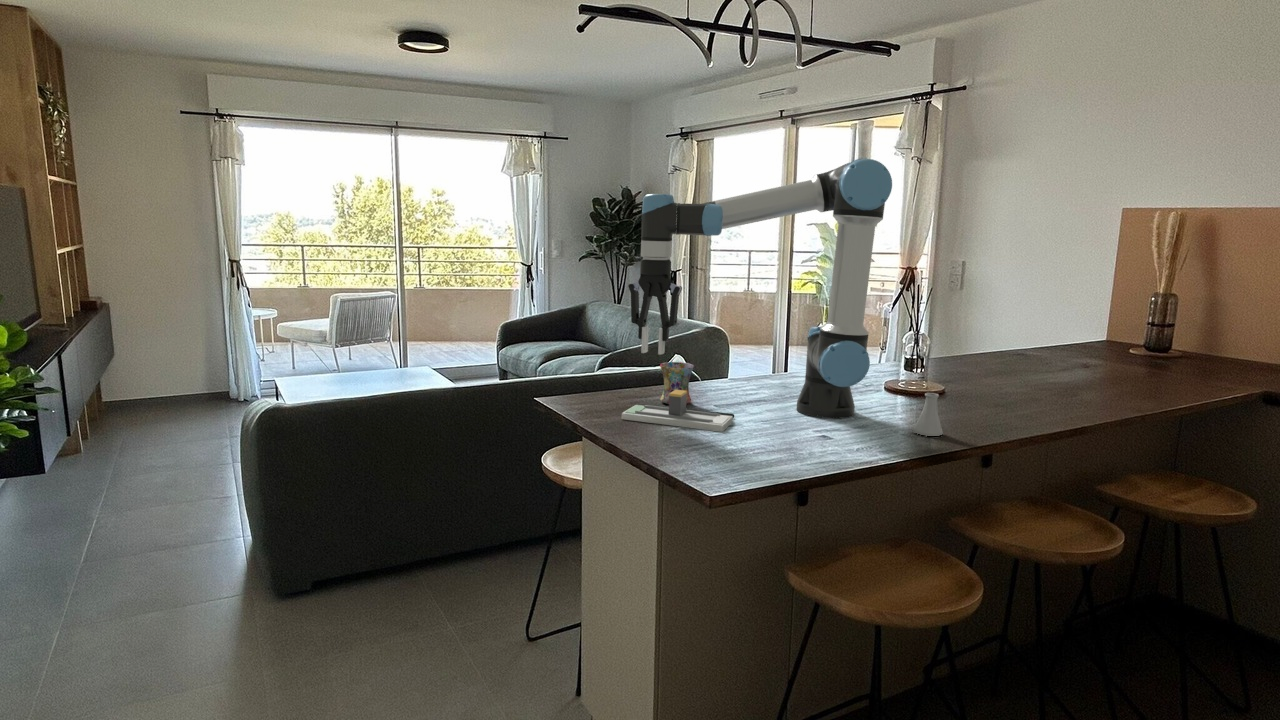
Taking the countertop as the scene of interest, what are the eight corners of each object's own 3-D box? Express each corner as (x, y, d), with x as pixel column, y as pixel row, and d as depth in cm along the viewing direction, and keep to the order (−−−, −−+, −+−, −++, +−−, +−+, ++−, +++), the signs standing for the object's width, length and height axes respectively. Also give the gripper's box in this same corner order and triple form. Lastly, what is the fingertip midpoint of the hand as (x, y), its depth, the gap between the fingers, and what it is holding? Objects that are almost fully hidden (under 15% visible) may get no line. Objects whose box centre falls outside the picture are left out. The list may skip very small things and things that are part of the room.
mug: (697, 406, 208) (699, 367, 206) (664, 407, 206) (666, 368, 204) (682, 396, 219) (684, 359, 218) (651, 397, 217) (652, 360, 215)
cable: (734, 418, 197) (734, 413, 197) (733, 419, 196) (734, 414, 195) (647, 409, 203) (647, 404, 203) (646, 410, 202) (646, 405, 202)
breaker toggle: (686, 412, 194) (686, 390, 193) (680, 416, 189) (680, 394, 188) (674, 411, 195) (675, 389, 194) (668, 415, 190) (669, 393, 189)
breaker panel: (732, 422, 193) (732, 413, 192) (722, 431, 184) (722, 423, 183) (635, 410, 202) (635, 402, 201) (621, 419, 192) (621, 410, 192)
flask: (940, 440, 182) (944, 399, 181) (909, 434, 186) (912, 394, 184) (946, 433, 188) (950, 393, 187) (915, 428, 192) (919, 389, 190)
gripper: (693, 259, 188) (689, 353, 193) (629, 256, 194) (627, 348, 198) (684, 260, 181) (680, 358, 186) (618, 257, 187) (616, 352, 191)
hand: (652, 352), depth 192 cm, fingers open, 4 cm apart
